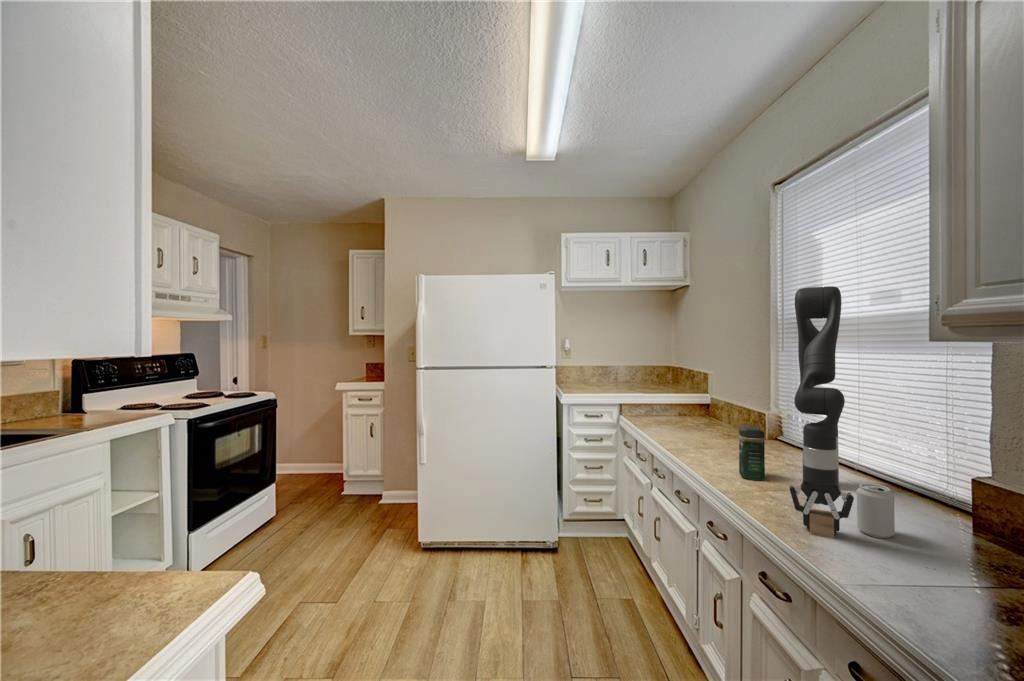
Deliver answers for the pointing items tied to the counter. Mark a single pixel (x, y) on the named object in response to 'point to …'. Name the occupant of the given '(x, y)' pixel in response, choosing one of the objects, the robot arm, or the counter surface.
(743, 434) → the coffee jar
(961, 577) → the counter surface
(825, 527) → the block
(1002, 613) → the counter surface
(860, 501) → the can
